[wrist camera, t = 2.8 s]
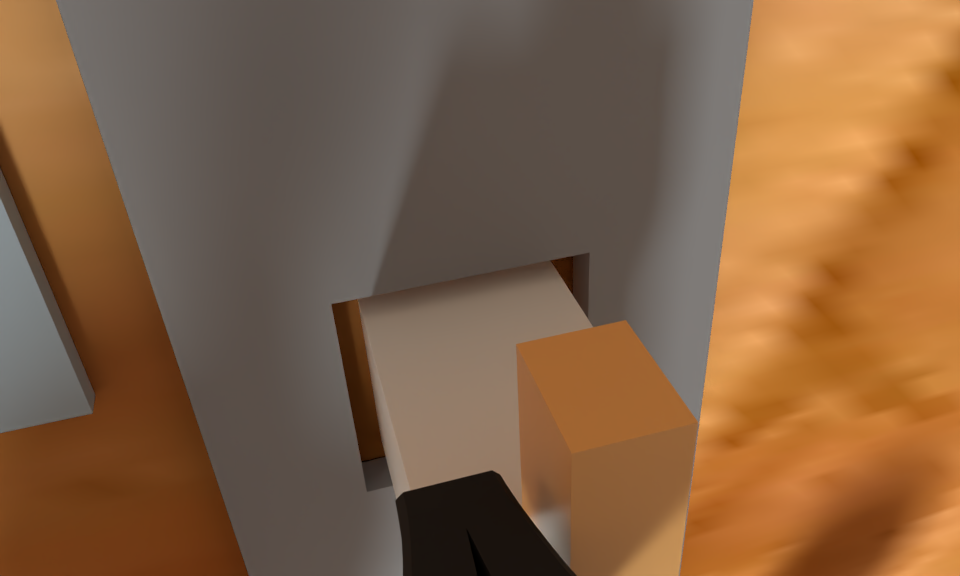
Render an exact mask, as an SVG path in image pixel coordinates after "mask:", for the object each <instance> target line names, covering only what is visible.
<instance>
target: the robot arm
mask: <svg viewBox="0 0 960 576" xmlns="http://www.w3.org/2000/svg"><path fill="white" fill-rule="evenodd" d="M395 503H396V508H397V514H398V520H399V526H400V532H401V539H402V555H403V576H577V575H576V574H575V573H574V572H573V571H572V570H571V568H570V567H569V566H568V565H567V564H566V563H565V561H564V560H563V559H562V558H561V557H560V555H559V554H558V553H557V552H556V551H555V549H554V548H553V547H552V546H551V544H550V543H549V542H548V541H547V539H546V538H545V537H544V535H543V534H542V533H541V532H540V530H539V529H538V528H537V527H536V525H535V524H534V523H533V521H532V520H531V519H530V517H529V516H528V515H527V513H526V512H525V511H524V509H523V508H522V506H521V505H520V504H519V502H518V501H517V499H516V498H515V496H514V495H513V493H512V492H511V491H510V489H509V488H508V486H507V485H506V483H505V481H504V480H503V478H502V476H501V475H500V474H498V473H496V472H495V471H493V470H491V471H487V472H483V473H479V474H475V475H471V476H466V477H462V478H458V479H454V480H450V481H446V482H442V483H438V484H434V485H430V486H426V487H422V488H418V489H414V490H410V491H406V492H403V493H402V494H401V495H400V496H399V497H398V498H397V499H396V500H395Z"/></svg>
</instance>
